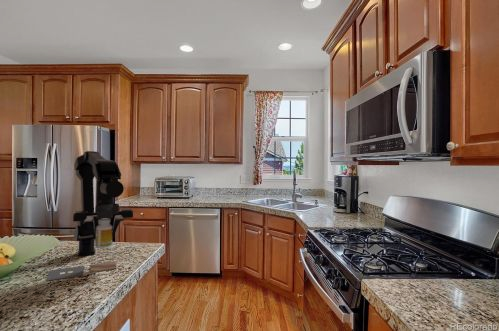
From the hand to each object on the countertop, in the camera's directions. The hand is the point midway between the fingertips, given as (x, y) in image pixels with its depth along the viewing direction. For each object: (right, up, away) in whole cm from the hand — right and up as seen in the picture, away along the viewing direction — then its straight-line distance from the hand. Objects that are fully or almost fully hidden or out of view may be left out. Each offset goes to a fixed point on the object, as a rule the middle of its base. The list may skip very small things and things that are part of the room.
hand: (103, 238), depth 98 cm
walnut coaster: (0, -10, 0) cm, 10 cm away
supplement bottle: (0, -3, 0) cm, 3 cm away
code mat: (-9, -10, -6) cm, 15 cm away
